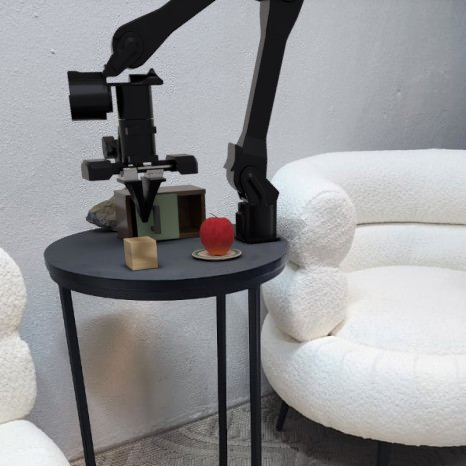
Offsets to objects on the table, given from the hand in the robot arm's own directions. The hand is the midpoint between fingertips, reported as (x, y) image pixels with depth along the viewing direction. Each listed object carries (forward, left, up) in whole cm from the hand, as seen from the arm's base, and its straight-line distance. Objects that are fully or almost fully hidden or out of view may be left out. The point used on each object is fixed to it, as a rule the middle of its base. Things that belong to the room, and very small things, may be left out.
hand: (144, 222), depth 118 cm
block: (+6, +15, -4) cm, 17 cm away
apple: (-7, +14, -4) cm, 17 cm away
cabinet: (-5, -8, -4) cm, 10 cm away
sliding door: (-3, -1, -4) cm, 5 cm away
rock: (+1, -20, -4) cm, 20 cm away
